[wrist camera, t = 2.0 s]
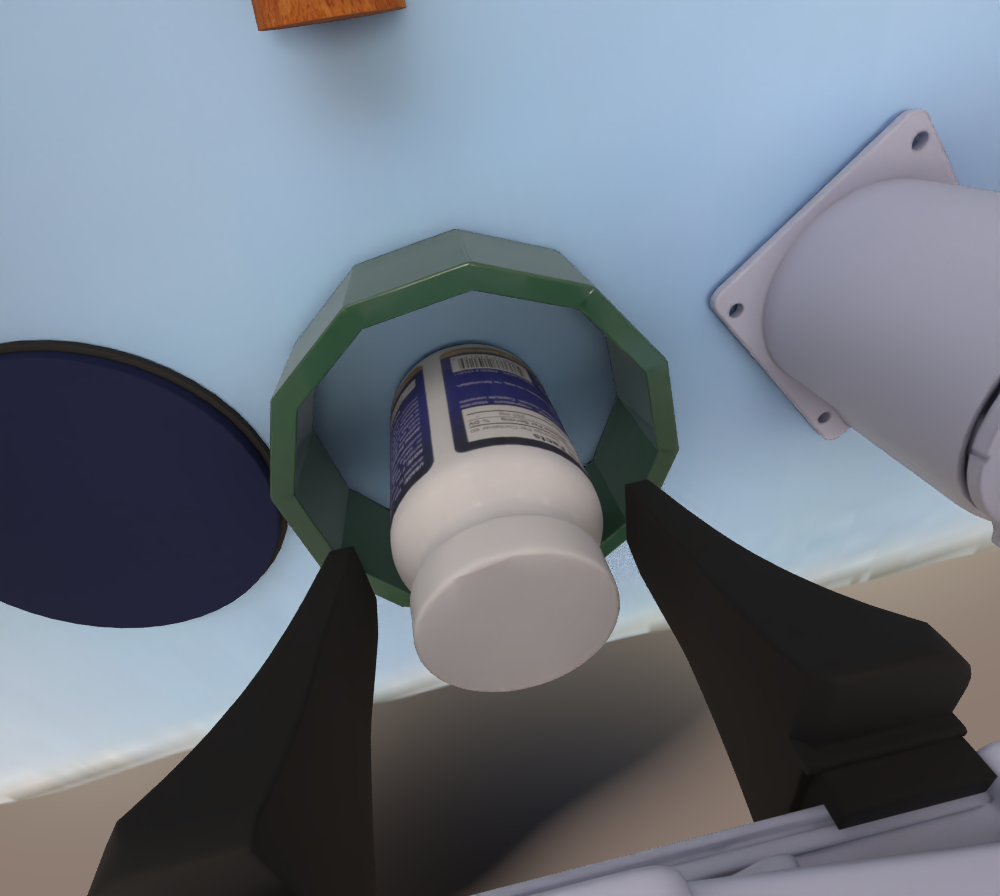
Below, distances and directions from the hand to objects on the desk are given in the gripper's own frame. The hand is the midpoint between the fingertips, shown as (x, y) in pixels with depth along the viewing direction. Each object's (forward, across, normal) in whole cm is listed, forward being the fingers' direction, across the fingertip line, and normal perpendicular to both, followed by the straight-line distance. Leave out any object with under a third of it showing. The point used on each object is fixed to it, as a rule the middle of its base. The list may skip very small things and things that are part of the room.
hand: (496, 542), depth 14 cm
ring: (+7, 0, 0) cm, 7 cm away
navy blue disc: (+7, +14, 0) cm, 15 cm away
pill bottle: (+7, 0, 0) cm, 7 cm away
